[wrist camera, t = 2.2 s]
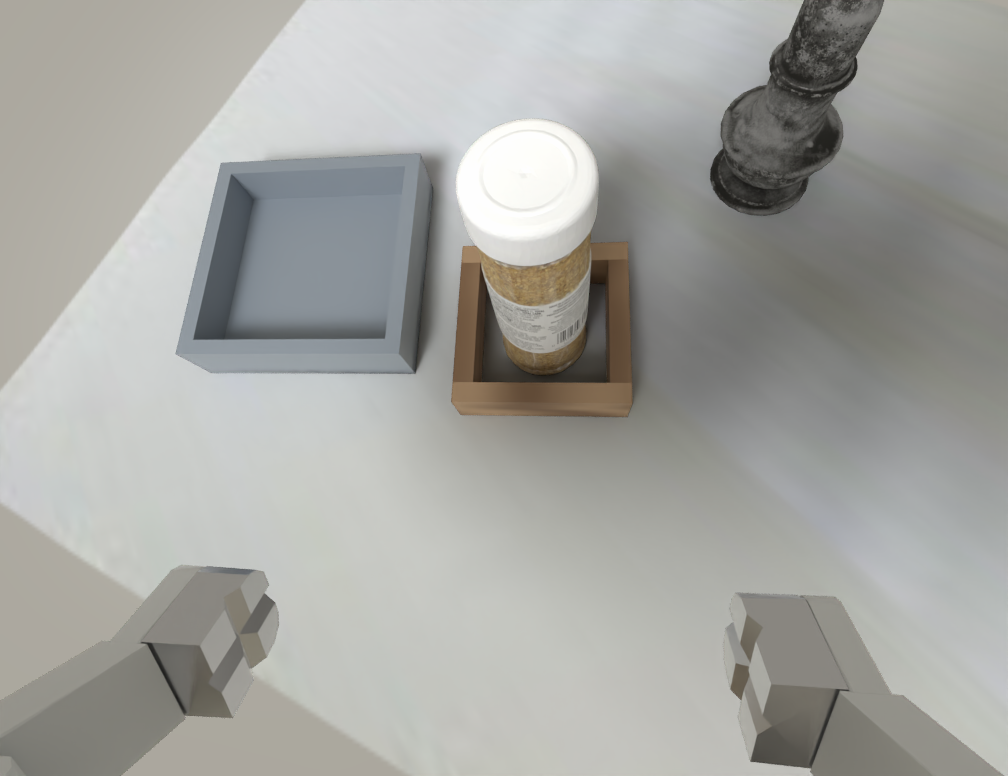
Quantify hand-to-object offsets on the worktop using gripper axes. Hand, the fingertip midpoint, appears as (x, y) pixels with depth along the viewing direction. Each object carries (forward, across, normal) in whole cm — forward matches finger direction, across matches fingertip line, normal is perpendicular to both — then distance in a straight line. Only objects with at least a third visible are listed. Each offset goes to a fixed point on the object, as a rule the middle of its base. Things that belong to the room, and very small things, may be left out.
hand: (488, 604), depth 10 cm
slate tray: (+24, +13, +1) cm, 27 cm away
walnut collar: (+21, 0, +4) cm, 21 cm away
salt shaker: (+28, -12, -3) cm, 31 cm away
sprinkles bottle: (+21, 0, +4) cm, 21 cm away
